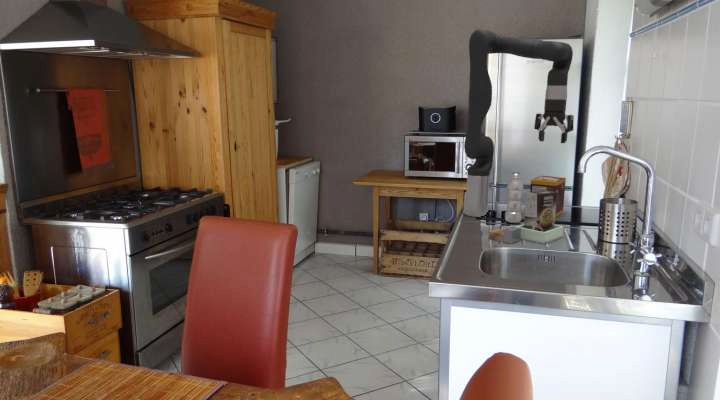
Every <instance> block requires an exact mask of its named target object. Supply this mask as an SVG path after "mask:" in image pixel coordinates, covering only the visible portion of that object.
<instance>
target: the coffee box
mask: <svg viewBox="0 0 720 400" xmlns="http://www.w3.org/2000/svg"><path fill="white" fill-rule="evenodd" d="M556 200H557V192H553V191H546V190H539V191H530V190H529V191H526V197H525V208H524V210H525V211H524V221H523V224H524V228H526V229H531V230H536V231H541V232H546V231H549V230H552V229H554V225H556V223H555V222H556V217H555V212H556Z"/></svg>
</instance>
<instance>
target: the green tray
mask: <svg viewBox="0 0 720 400" xmlns="http://www.w3.org/2000/svg"><path fill="white" fill-rule="evenodd" d="M515 227H517V228H521V237H520V240H524V241H527V242H533V243H537V244H542V245H547V244H548V243H551V242H554V241H557V240H559V239H561V238H563V236H564V226H563V225H559V224H554V229H552V230H549V231H546V232H541V231H536V230H531V229H526V228H524V223H522V224H519V225H515Z"/></svg>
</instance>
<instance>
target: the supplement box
mask: <svg viewBox="0 0 720 400" xmlns="http://www.w3.org/2000/svg"><path fill="white" fill-rule="evenodd" d="M566 180H567V177H565V176H564V177H561V176H551V175H550V176H549V175H539V176H537V177H535V178H532V179H531V180H530V188H529V191H539V190H546V191H553V192H557V200H556V212H555V218H556V217H558V216H560V215H562V214H563V213H564V202H565V191H566V182H567V181H566Z"/></svg>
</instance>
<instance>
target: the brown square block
mask: <svg viewBox="0 0 720 400" xmlns="http://www.w3.org/2000/svg"><path fill="white" fill-rule="evenodd" d="M504 230H505V229H501V228H496V229H492V230H489V231H488V240H491V241H497V242H500V243H504V242H503V241H504Z"/></svg>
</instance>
